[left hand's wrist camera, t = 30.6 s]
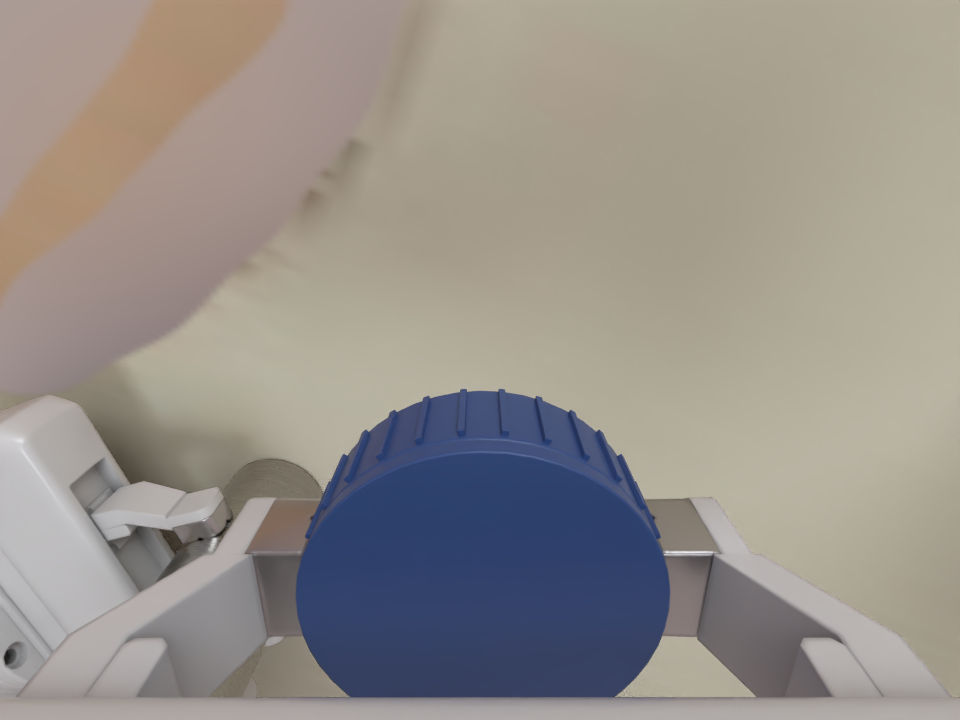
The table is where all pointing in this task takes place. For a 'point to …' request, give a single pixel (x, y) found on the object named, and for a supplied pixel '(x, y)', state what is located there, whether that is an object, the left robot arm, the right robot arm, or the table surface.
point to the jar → (246, 484)
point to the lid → (482, 557)
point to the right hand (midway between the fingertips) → (252, 565)
